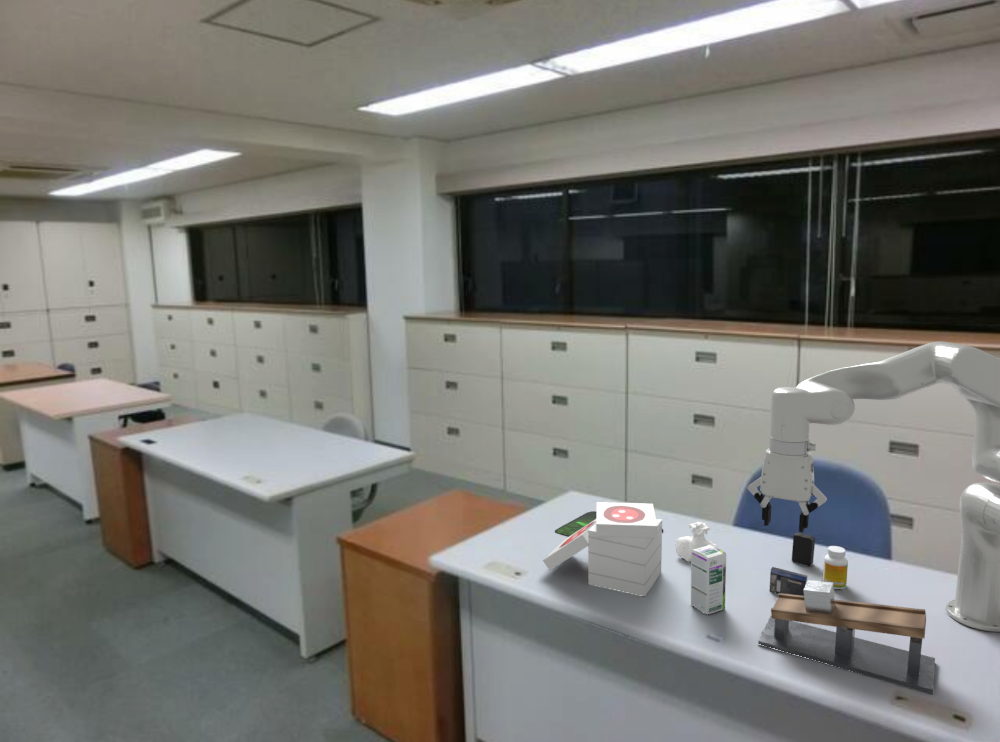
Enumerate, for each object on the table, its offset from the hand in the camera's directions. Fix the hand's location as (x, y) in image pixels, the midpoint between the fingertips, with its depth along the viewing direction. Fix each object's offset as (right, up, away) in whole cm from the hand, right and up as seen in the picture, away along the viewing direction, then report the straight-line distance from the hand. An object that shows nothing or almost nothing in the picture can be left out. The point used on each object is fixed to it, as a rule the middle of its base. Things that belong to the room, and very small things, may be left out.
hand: (784, 526), depth 146 cm
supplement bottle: (+24, -21, +26) cm, 41 cm away
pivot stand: (+11, -26, -3) cm, 29 cm away
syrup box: (-11, -24, +17) cm, 31 cm away
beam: (+11, -18, -4) cm, 22 cm away
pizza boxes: (-33, -21, +35) cm, 52 cm away
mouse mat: (-28, -16, +62) cm, 70 cm away
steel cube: (+7, -17, -1) cm, 19 cm away
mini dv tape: (+10, -22, +22) cm, 33 cm away
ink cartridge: (+21, -19, +38) cm, 48 cm away
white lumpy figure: (-6, -19, +42) cm, 47 cm away
